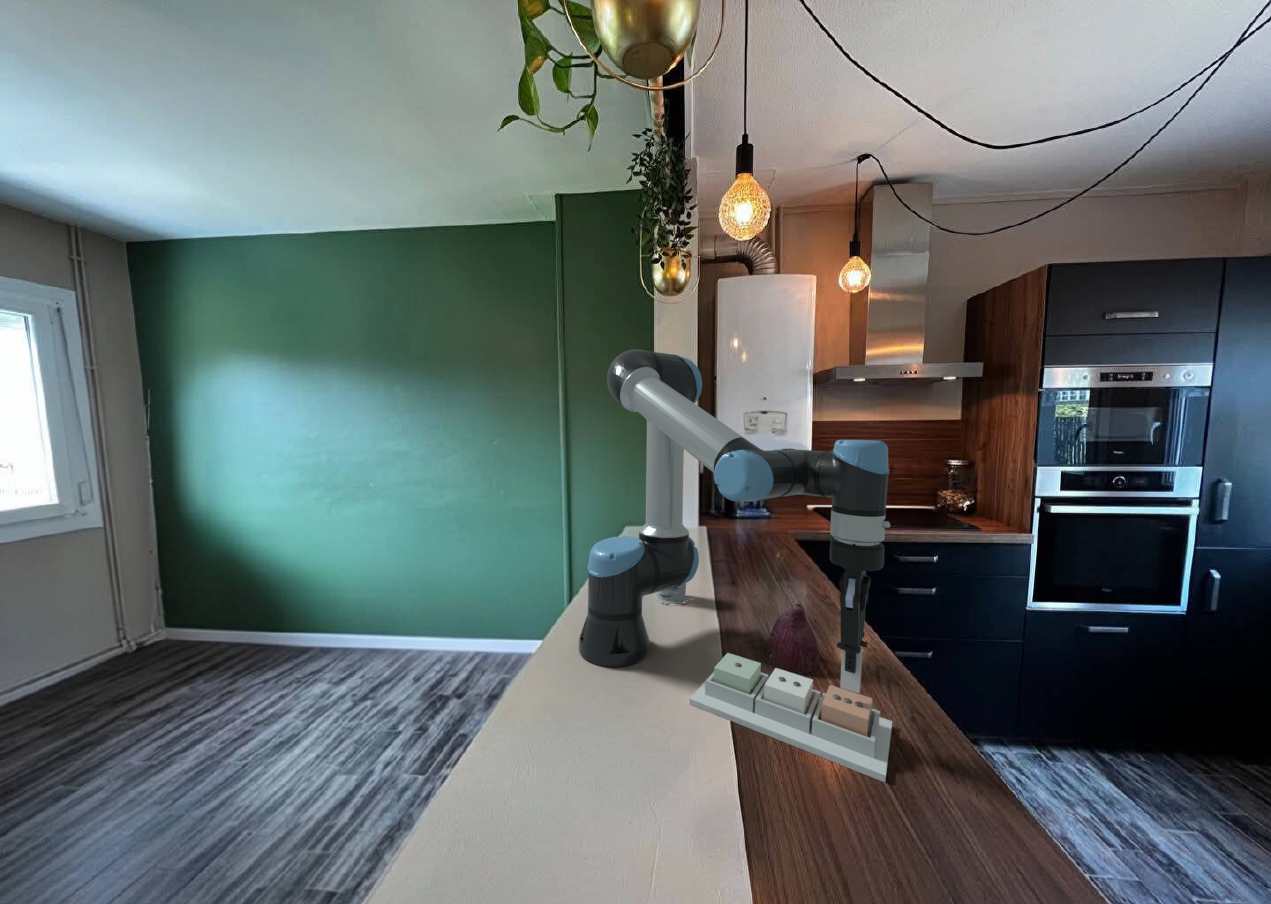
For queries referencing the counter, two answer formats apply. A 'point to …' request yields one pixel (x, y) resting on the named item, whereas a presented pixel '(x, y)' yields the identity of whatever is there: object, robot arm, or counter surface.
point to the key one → (737, 673)
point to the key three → (847, 710)
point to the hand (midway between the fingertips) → (850, 688)
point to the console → (801, 726)
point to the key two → (789, 690)
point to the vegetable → (793, 643)
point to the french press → (672, 595)
